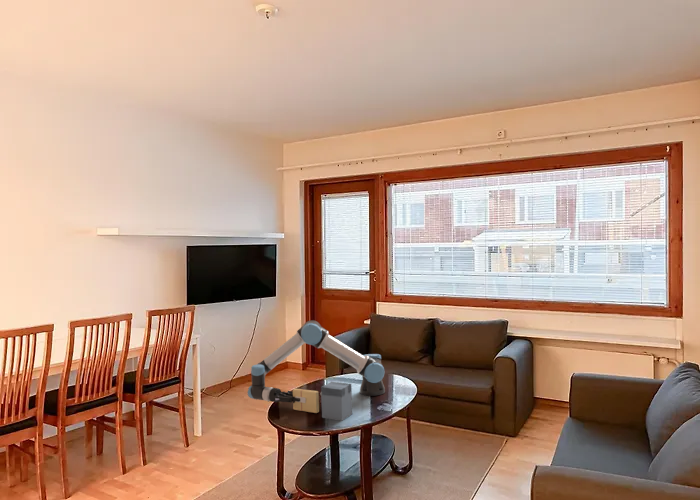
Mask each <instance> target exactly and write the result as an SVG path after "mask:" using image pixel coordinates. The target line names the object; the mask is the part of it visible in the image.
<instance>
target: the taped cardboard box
mask: <svg viewBox="0 0 700 500" xmlns="http://www.w3.org/2000/svg"><path fill="white" fill-rule="evenodd" d="M292 392H293V397H296V396H298V397H305V398H306V403H302V402H295V403H293V402H292V408H293V410H295V411H300V412H308V413H314V414H317V413H319V412H320V402H319V401H320V400H319V399H320V398H319V397H320V396H319V395H320V394H319V391H318V390H313V389H311V390H310V389H305V388H296V387H295V388H293V389H292Z"/></svg>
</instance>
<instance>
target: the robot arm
mask: <svg viewBox="0 0 700 500" xmlns="http://www.w3.org/2000/svg"><path fill="white" fill-rule="evenodd" d="M304 344H307V345H311V346H313V347H314V348H316V349H323V350H324V351H326V352H328V353H330V354H331V355H333V356H335V357H336V358H338V359H339V360H341V361H343V362H344V363H346V364H347V365H349V366H350V367H352V368H354V369H355V370H356V372H357V374H359V375H360V376H362V377H361V378H362V380H361V384H360V388H359V393H360V394H361V395H363V396H369V397H373V396H381V395H383V394H385V392H386V390H385V389H386V388H385V385H384V383H383V378H384V377H385V374H386V373H385V367H384V366H383V363H382V355H381V354H379V353H368V354H362V353H360V352H358V351H356V350H354V348H352V347H350V346H348V345H347V344H345V343H344V342H342V341H340V340H339V339H337V338H335V337H333V336H332V335H330V333H329V330H327V328H326V329H325V328H324V327H323V326H322V325H321V324H320V322H318V321H316V320H314V319H313V320H308V321H306V322H304V324H303V325H302V326H301V327H300V328H299V329H298V330H296V333H295V334H294V335H293V336H292V337H290V338H289V339H287V340H286V341H285V342H284V343H283V344H281V345H280V346H279V347H278V348H276V350H274V351H273V352H271V353H270V354H269V355H268V356H266V357H265V358H264V359H263V360H262V361H260V362H258V363H257V364H253V365H252V366H251V369H250V370H251V371H250V373H251V374H250V375H251V385H250V386H249V387H248V390H247V396H248V398H250V399H252V400H256V401H257V400H259V401H265V402H273V403H279V402H281V403H292V404H293V403H295V402H302V403H306V398H305V397H298V396H296V397H293V391H291V390H287V391H282V390H281V388H276V387H272V386H271V387H269V386H266V375H267V374H268V373H270V372H271V371H272V370H273V369H274V368H276V366H277V365H279V364H280V363H281V362H283V361H285V359H286V358H288V357H289V356H291V355H292V354H293V353H294V352H295V351H297V350H298V349H299V348H301V346H303V345H304Z"/></svg>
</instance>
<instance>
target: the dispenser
mask: <svg viewBox="0 0 700 500" xmlns="http://www.w3.org/2000/svg"><path fill="white" fill-rule="evenodd" d="M352 389H353V388H352V383H348V382H339V381H337V382H336V381H330V382H329V383H326V384H324V385H322V386H320V390H321V391H320V392H319V393H320V394H319V395H320V396H321V399H320V400H321V418H322V419H328V420H336V421H344V420H346V419H347V418H348V417H350V416H351V415H353V396H352V395H353V393H352V392H353V391H352Z"/></svg>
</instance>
